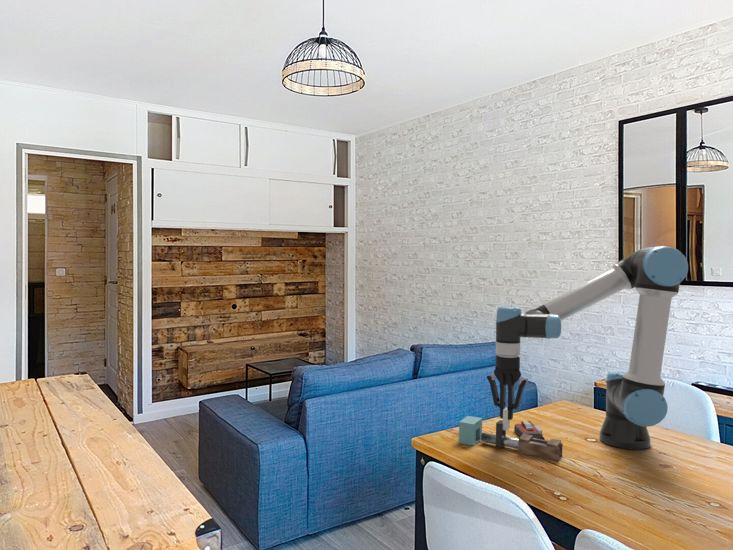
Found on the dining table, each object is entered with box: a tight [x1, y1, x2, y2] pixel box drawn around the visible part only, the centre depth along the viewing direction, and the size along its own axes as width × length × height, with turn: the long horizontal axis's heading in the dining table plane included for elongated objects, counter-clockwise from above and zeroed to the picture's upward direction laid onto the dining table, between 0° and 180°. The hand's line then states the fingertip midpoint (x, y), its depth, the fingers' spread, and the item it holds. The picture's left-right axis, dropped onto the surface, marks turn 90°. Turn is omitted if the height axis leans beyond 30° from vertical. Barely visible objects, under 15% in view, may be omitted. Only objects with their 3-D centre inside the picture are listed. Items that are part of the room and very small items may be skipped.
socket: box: [458, 415, 483, 446], centre depth 175 cm, size 5×8×7 cm, turn 149°
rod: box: [480, 419, 547, 450], centre depth 168 cm, size 20×4×8 cm, turn 59°
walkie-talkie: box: [513, 420, 546, 440], centre depth 184 cm, size 9×4×20 cm
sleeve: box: [517, 434, 564, 462], centre depth 164 cm, size 12×6×5 cm, turn 59°
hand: (506, 429), depth 169 cm, fingers closed
